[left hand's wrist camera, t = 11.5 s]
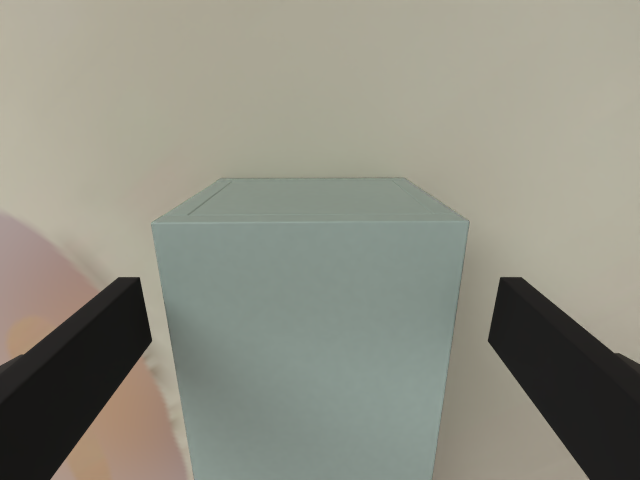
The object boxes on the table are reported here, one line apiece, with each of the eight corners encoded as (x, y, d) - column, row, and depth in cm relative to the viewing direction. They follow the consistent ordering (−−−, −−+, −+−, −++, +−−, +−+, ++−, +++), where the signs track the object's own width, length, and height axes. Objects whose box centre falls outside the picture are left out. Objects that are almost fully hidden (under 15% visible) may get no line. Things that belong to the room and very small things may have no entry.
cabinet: (383, 447, 27) (415, 597, 18) (245, 449, 27) (214, 601, 18) (405, 177, 20) (470, 220, 12) (219, 178, 20) (150, 222, 11)
